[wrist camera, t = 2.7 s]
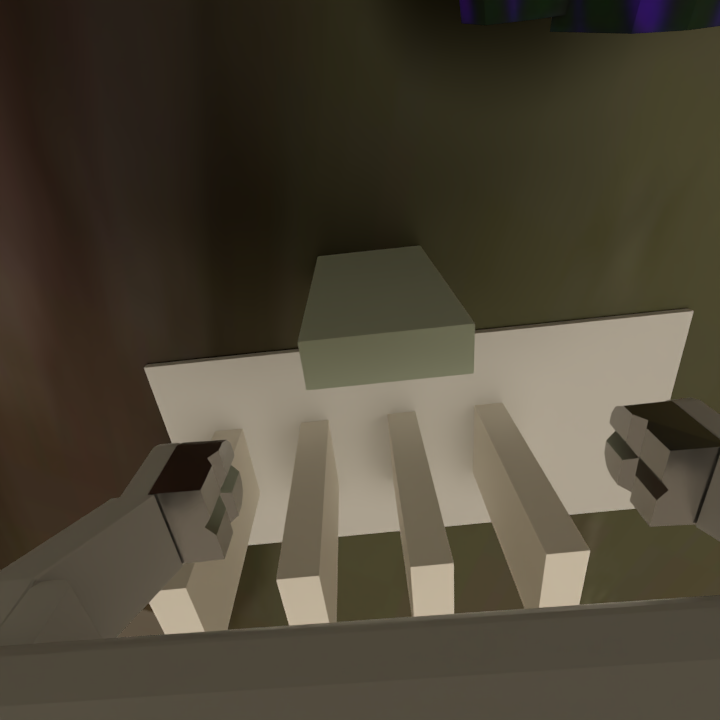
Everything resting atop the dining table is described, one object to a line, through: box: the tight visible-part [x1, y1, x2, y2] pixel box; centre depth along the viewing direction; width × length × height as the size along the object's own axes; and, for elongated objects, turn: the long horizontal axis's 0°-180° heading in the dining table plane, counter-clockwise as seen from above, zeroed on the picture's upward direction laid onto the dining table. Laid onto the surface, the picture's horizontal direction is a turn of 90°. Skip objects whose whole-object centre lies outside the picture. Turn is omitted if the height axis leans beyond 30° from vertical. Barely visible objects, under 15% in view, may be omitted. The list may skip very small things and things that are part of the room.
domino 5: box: [473, 403, 590, 609], centre depth 21 cm, size 2×5×10 cm, turn 6°
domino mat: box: [144, 308, 693, 545], centre depth 26 cm, size 29×14×1 cm, turn 96°
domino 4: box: [387, 411, 454, 617], centre depth 22 cm, size 2×5×10 cm, turn 6°
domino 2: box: [276, 420, 339, 626], centre depth 22 cm, size 2×5×10 cm, turn 6°
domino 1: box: [149, 429, 260, 634], centre depth 22 cm, size 2×5×10 cm, turn 5°
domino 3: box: [298, 245, 475, 390], centre depth 17 cm, size 2×5×10 cm, turn 96°
